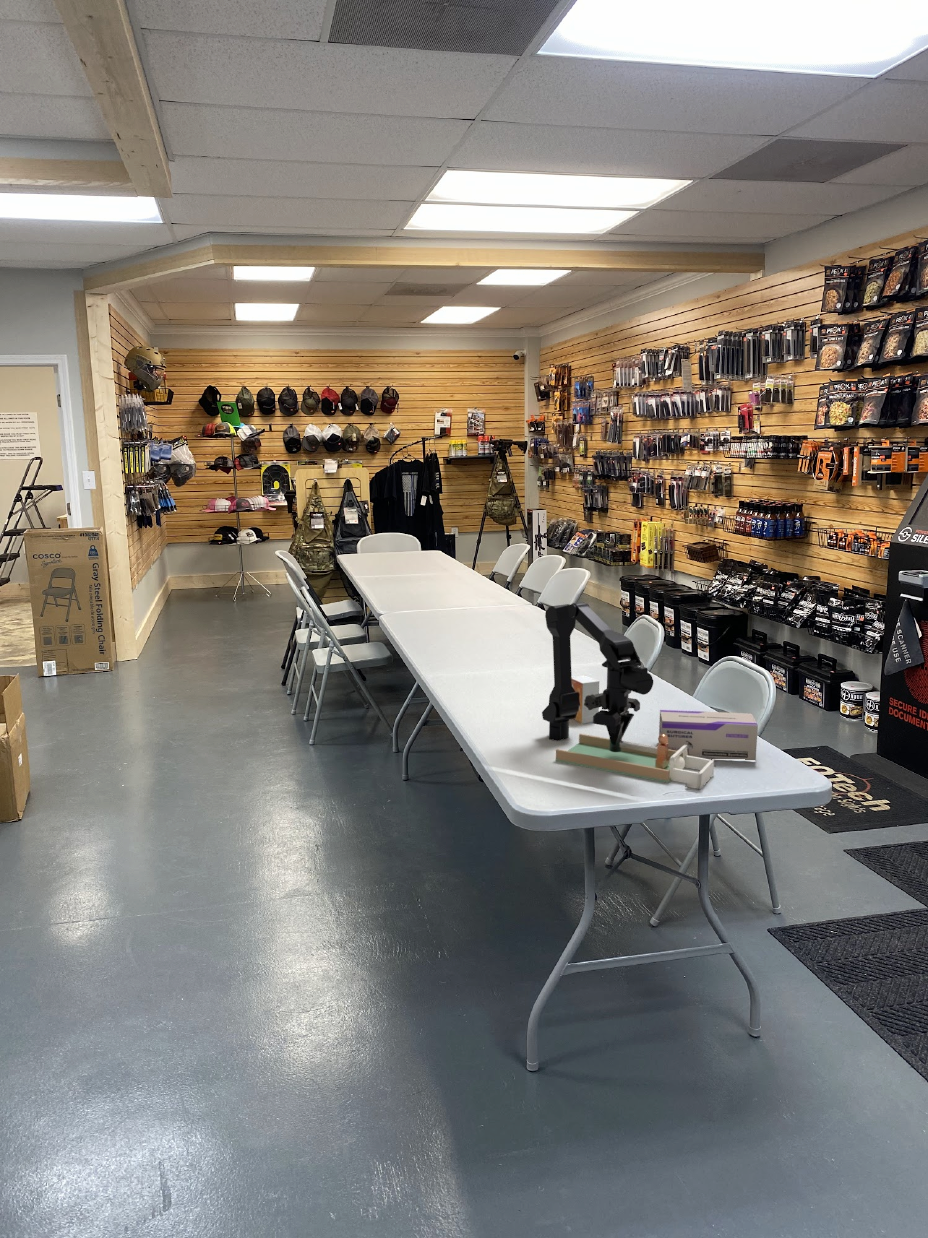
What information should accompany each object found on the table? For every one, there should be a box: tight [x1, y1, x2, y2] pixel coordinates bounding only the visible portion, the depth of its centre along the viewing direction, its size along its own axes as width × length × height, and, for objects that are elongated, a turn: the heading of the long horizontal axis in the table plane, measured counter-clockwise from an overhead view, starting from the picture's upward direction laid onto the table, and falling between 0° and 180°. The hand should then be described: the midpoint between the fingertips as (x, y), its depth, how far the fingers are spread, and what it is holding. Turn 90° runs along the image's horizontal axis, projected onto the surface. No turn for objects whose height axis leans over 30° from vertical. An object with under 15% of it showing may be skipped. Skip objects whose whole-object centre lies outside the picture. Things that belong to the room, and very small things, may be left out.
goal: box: [669, 745, 715, 790], centre depth 226 cm, size 12×8×7 cm
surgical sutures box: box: [658, 709, 759, 760], centre depth 245 cm, size 25×11×11 cm, turn 81°
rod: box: [609, 729, 669, 769], centre depth 233 cm, size 5×16×9 cm, turn 59°
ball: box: [669, 756, 686, 770], centre depth 228 cm, size 4×4×4 cm
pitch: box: [555, 733, 688, 784], centre depth 236 cm, size 16×31×4 cm, turn 59°
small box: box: [572, 674, 600, 724], centre depth 276 cm, size 8×6×13 cm
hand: (616, 742), depth 236 cm, fingers closed on rod, 3 cm apart
